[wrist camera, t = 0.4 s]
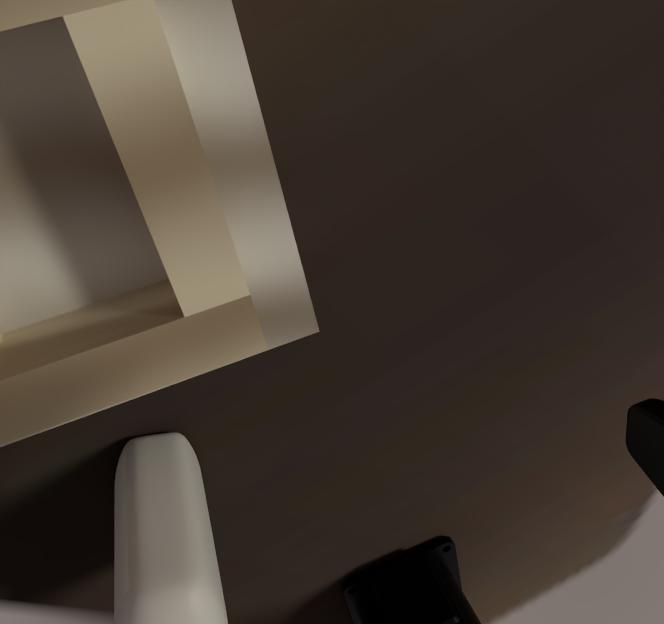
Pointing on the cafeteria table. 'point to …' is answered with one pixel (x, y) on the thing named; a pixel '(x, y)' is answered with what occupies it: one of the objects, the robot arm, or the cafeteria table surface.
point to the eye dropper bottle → (163, 537)
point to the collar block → (133, 207)
